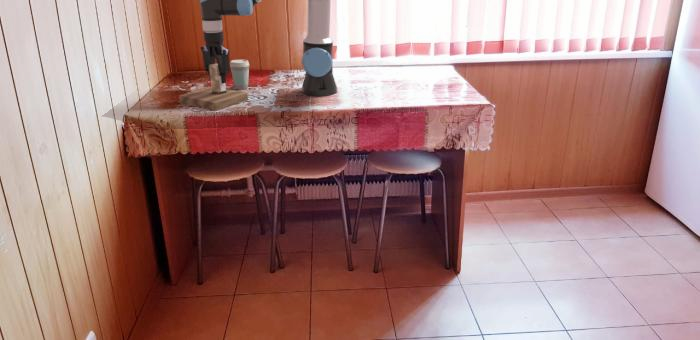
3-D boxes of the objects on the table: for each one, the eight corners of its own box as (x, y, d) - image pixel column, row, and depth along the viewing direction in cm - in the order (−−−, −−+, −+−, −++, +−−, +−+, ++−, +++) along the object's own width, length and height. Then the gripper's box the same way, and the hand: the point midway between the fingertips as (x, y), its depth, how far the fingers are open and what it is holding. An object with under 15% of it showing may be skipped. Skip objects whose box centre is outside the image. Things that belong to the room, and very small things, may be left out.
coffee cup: (246, 90, 225) (244, 63, 220) (228, 89, 226) (226, 62, 221) (254, 86, 232) (252, 59, 228) (236, 85, 234) (234, 58, 229)
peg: (226, 98, 211) (223, 64, 206) (219, 100, 208) (216, 66, 203) (219, 96, 213) (216, 63, 208) (212, 99, 210) (209, 64, 204)
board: (248, 100, 211) (247, 92, 210) (216, 110, 197) (215, 103, 195) (212, 93, 220) (212, 86, 219) (180, 102, 206) (179, 95, 205)
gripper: (236, 31, 199) (240, 90, 208) (204, 28, 207) (210, 85, 216) (222, 34, 193) (227, 94, 202) (190, 30, 201) (197, 89, 210)
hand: (218, 89), depth 209 cm, fingers closed on peg, 4 cm apart
